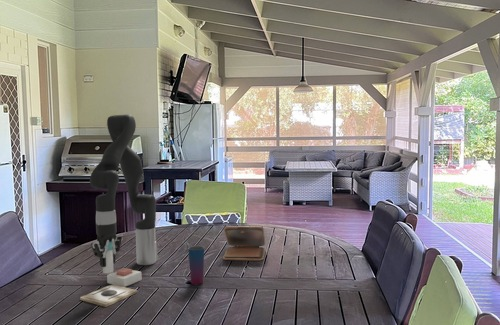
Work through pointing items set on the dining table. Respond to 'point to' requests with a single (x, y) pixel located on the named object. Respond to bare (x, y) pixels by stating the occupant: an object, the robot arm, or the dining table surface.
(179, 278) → the dining table surface
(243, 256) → the case
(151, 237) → the robot arm
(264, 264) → the dining table surface
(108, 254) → the marker
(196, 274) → the cup
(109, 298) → the paper board
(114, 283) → the button housing
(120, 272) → the button
